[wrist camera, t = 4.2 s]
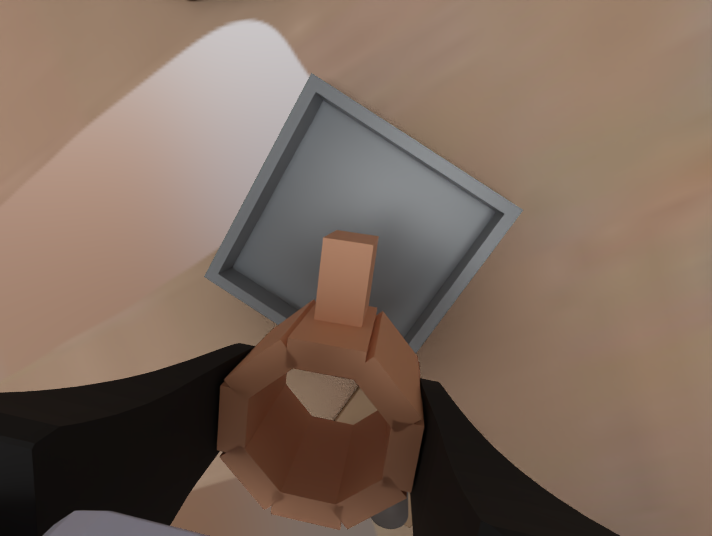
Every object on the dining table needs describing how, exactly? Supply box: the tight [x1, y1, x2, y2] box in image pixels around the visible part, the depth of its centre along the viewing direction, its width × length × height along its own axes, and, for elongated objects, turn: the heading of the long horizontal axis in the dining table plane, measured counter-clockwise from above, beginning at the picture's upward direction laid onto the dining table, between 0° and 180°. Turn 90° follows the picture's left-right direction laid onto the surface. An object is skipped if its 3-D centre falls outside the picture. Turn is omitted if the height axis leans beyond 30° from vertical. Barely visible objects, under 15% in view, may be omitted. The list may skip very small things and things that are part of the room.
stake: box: [334, 387, 412, 529], centre depth 21 cm, size 8×8×5 cm
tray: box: [204, 73, 523, 354], centre depth 20 cm, size 12×12×2 cm
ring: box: [217, 230, 424, 530], centre depth 11 cm, size 8×5×4 cm
